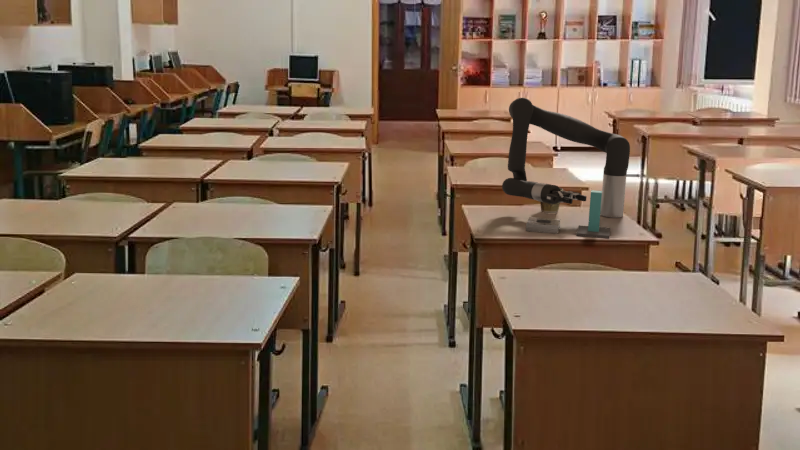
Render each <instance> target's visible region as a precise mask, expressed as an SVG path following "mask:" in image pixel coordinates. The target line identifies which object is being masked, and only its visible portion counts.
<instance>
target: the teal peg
mask: <svg viewBox="0 0 800 450" xmlns="http://www.w3.org/2000/svg"><path fill="white" fill-rule="evenodd" d="M589 199H590V201H589V209H588V210H589V212H588V225H587V226H588V231H592V232H599V227H600V223H601V222H600V221H601V215H600V212H601V199H602V190H593V189H591V191H590V197H589Z"/></svg>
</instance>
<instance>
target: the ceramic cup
mask: <svg viewBox="0 0 800 450" xmlns="http://www.w3.org/2000/svg"><path fill="white" fill-rule="evenodd" d="M559 188H560V190H561V191H564V189H563V187H559ZM539 202H540V201H539ZM539 204H540V209H541V210H540V211H541V213H543V212H544V214H548V213H555V214H558V212H559V208H560V204H561V203H556V204H549V203H544V202H540V203H539Z"/></svg>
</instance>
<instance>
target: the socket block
mask: <svg viewBox="0 0 800 450" xmlns="http://www.w3.org/2000/svg"><path fill="white" fill-rule="evenodd" d="M561 221H562V220H561V219H559V218H546V217H537V216H536V217H535V216H533V217H532V216H529V217H528V218H527V221H526V223H525V231H526V232H532V233H535V232H536V233H545V234H547V233H548V234H559V232H560V229H559V228H561Z"/></svg>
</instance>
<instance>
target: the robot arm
mask: <svg viewBox="0 0 800 450" xmlns="http://www.w3.org/2000/svg"><path fill="white" fill-rule="evenodd" d="M508 113H509V115H510V117H511V118H512V135H511V140H510V145H509V150H508V157H507V158H508V159H507V161H508V162H507V170H508V171H509V172H511V173H512V177H509V178H508V177H507V178H506V179H504V180H503V182H502V184H501V185H502V186H501V189H502V191H503V193H505V194H506V195H508V196H513V197H519V198H520V197H521V198H526V199H530V200H534V201H537V202H544V203H549V204H556V203H560V204H563V203H565V204H569V205H570V204H571V205H572V204H573V201H580V202H586V201H587V195H584V194H582V193H581V192H577V191H572V190H567V191H566V190H563V191H561V190H560V188H561V187H560V186H558V185H556V184H552V183H545V182H537V181H532V180H531V181H530V180H529V181H528V178H527V174H526V173H527V172H526V161H527V160H526V159H527V144H528V134H529V128H530V125H532V126H535V127H538V128H540V129H542V130H544V131H546V132H548V133H550V134H552V135H555V136H557V137H560V138H562V139H564V140H567V141H570V142H573V143H577V144H582V145H587V146H589V147H593V148H596V149H598V150H599V151H602V152H604V153H605V154H606V155H605V156H606V157H605V165H604V167H603V175H602V189H601V191H602V199H601V212H600V216H602V217H605V218H606V217H607V218H616V219H617V218H622V217H623V218H624V207H625V197H626V188H627V187H626V184H627V173H628V170H629V163H630V154H631V145H630V142H629V140H628V139H627V138H625V137H624V136H622V135H621V134H616V133H613V132H608V131H605V130H601V129H599V128H597V127H594V126H593V125H590V124H589V123H586V122H585V121H582V120H580V119H578V118H576V117H573V116H570V115H568V114H564V113H560V112H557V111H551V110H547V109H543V108H541V107H539V106H536V105H534V104H533V103H532V101H531V100H530V99H528V98H526V97H518V98H516V99H514V100H513V101H511V103H510V104H509V106H508Z"/></svg>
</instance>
